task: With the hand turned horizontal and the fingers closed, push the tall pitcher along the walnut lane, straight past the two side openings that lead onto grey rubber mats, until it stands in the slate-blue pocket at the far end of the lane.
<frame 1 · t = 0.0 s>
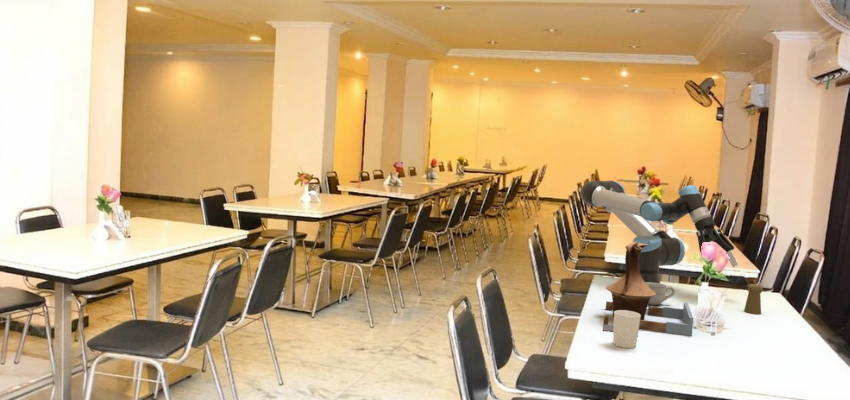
hand: (726, 266, 284), 15 cm above the table, tool tilted 35°, fingers open, 13 cm apart
mat a: (636, 310, 265), on the table
pocket: (663, 323, 247), on the table
beige tumbler: (624, 345, 217), on the table
lane: (642, 321, 249), on the table
mat b: (618, 329, 235), on the table
teacup: (654, 304, 278), on the table
pitcher: (628, 320, 250), on the table
cork: (752, 312, 274), on the table
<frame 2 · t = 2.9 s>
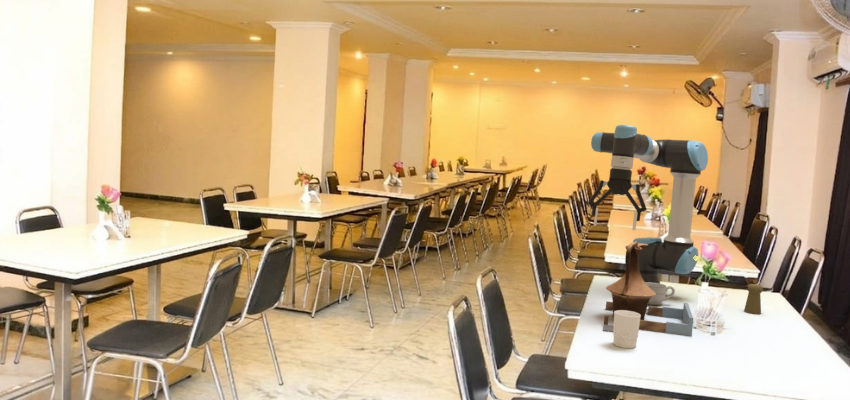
hand: (614, 227, 253), 31 cm above the table, tool pointing down, fingers open, 13 cm apart
nothing on the table moved.
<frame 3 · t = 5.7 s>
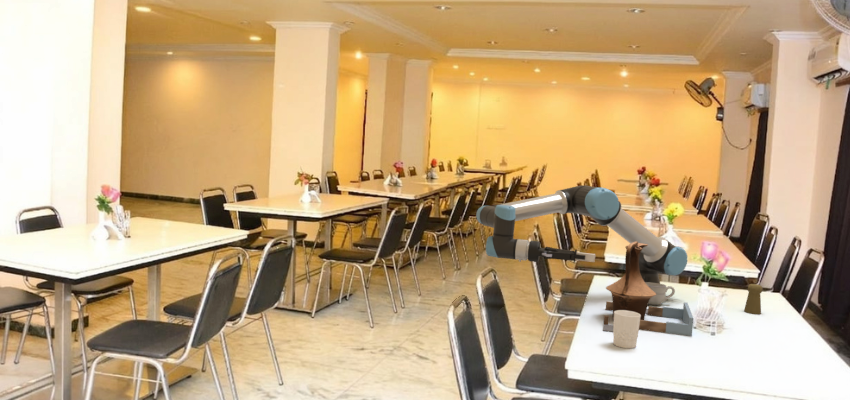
hand: (594, 258, 252), 21 cm above the table, tool horizontal, fingers closed
nothing on the table moved.
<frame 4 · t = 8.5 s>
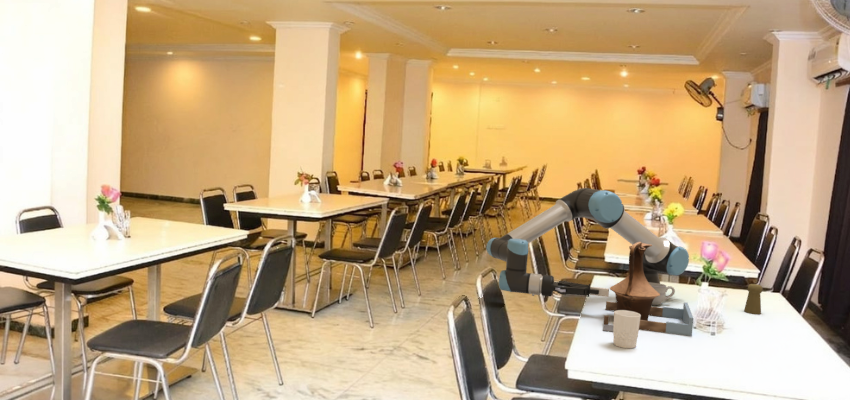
hand: (608, 292, 251), 9 cm above the table, tool horizontal, fingers closed
pitcher: (631, 320, 250), on the table, touching gripper
everything else where it was.
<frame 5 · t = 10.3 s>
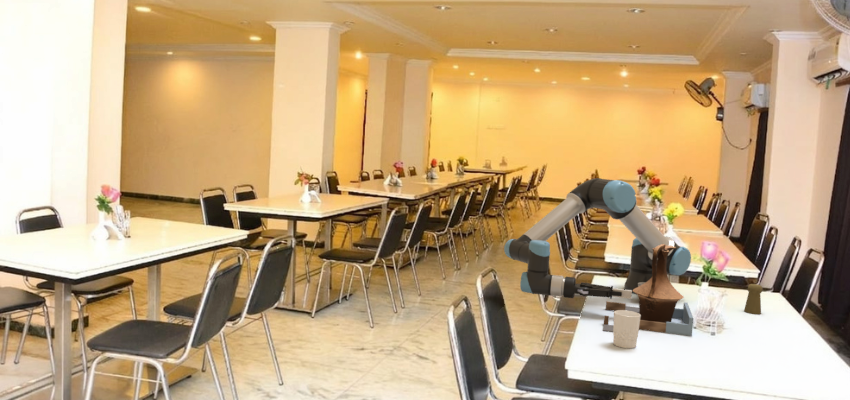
hand: (631, 294, 249), 9 cm above the table, tool horizontal, fingers closed
pitcher: (654, 323, 248), on the table, touching gripper
everything else where it was.
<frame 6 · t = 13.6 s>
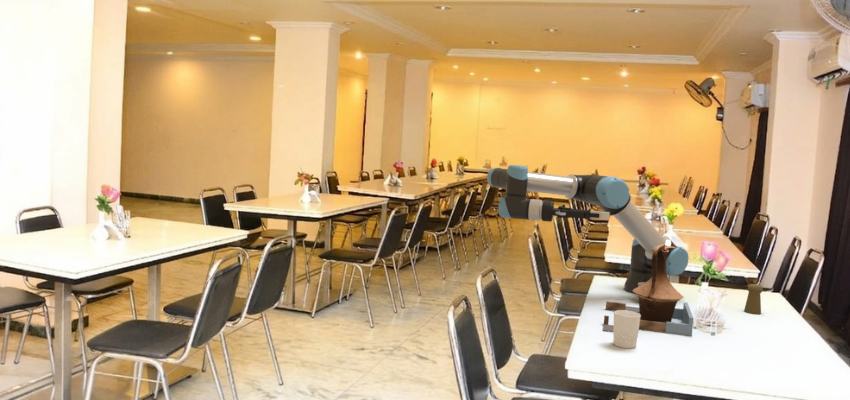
hand: (609, 216, 249), 36 cm above the table, tool horizontal, fingers closed
pitcher: (654, 323, 248), on the table
everything else where it was.
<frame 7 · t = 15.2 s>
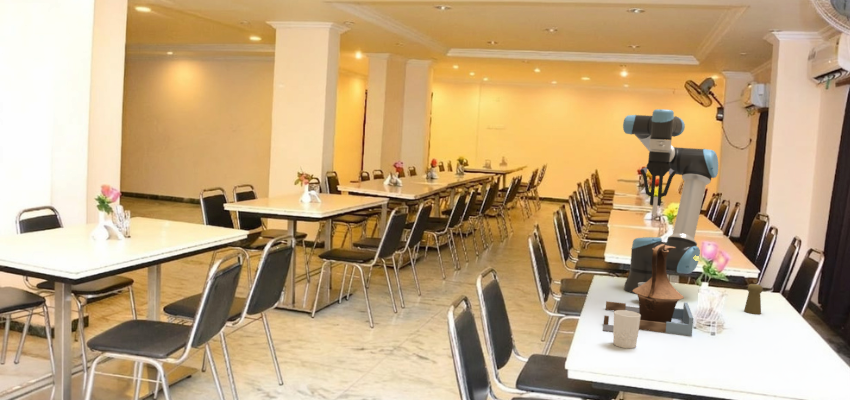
hand: (654, 214, 266), 36 cm above the table, tool pointing down, fingers closed
nothing on the table moved.
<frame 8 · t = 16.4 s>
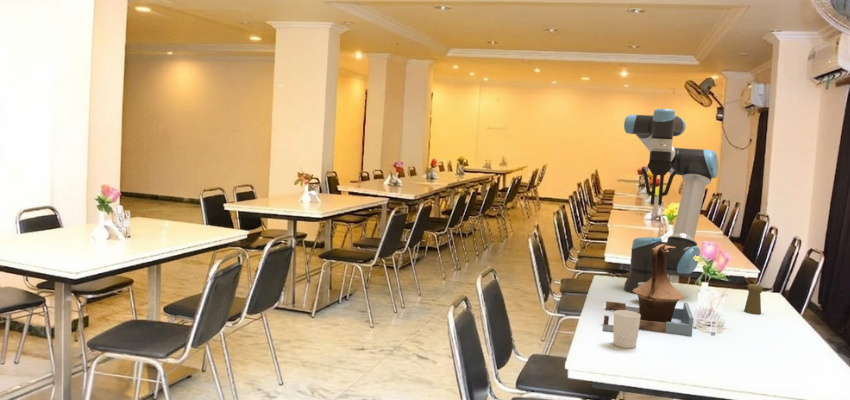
hand: (655, 213, 266), 36 cm above the table, tool pointing down, fingers closed
nothing on the table moved.
at the end: pitcher 3.0 cm from the pocket (horizontally); pitcher tilted 0°; pitcher moved 9.0 cm from its start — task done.
